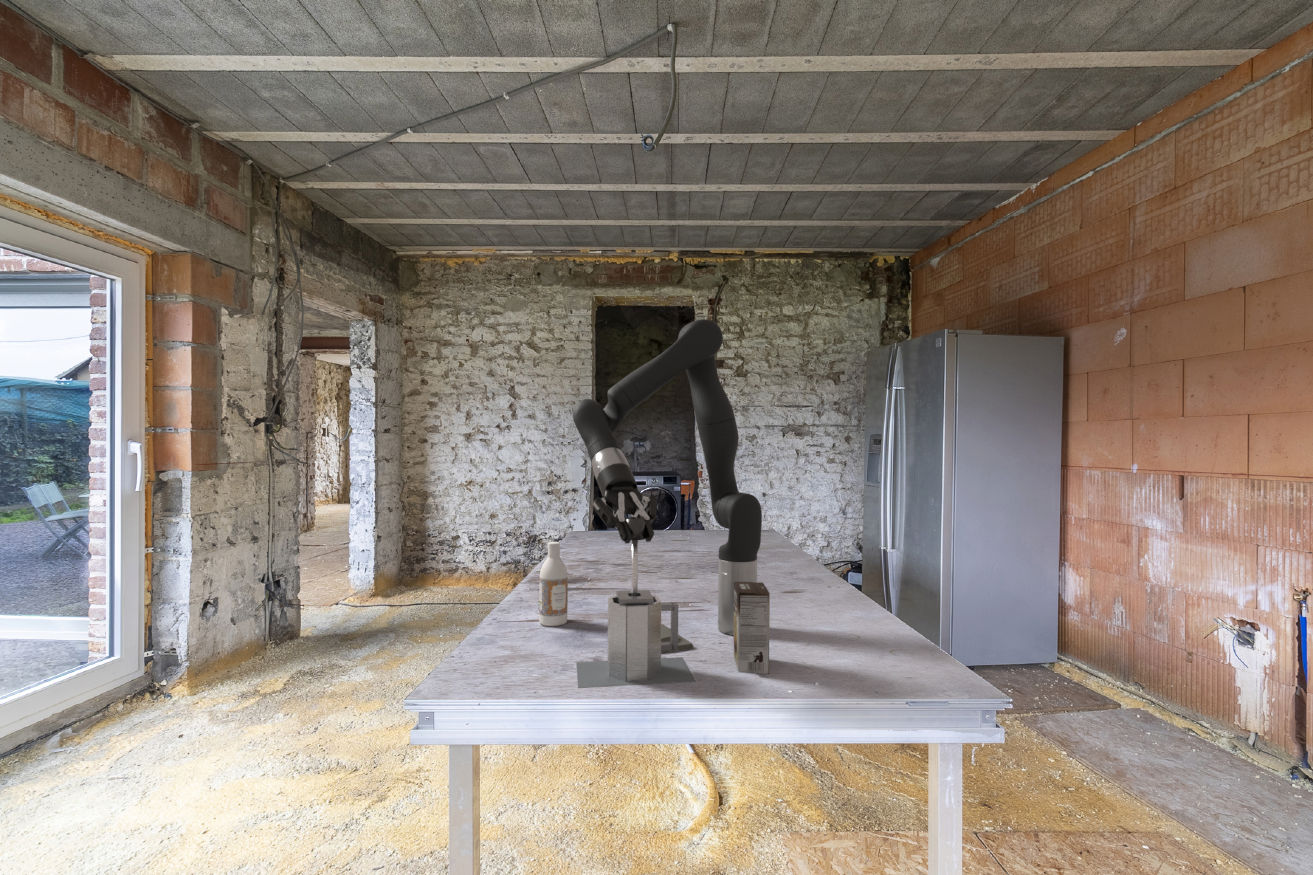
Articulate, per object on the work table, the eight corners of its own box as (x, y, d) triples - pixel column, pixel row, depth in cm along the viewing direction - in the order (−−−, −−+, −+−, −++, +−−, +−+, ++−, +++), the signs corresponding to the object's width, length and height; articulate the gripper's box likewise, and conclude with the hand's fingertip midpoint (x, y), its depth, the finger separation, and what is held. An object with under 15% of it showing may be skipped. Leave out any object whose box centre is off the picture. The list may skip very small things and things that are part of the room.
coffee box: (732, 657, 129) (733, 580, 129) (763, 658, 128) (763, 581, 129) (736, 673, 120) (737, 591, 120) (769, 674, 119) (770, 591, 119)
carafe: (672, 660, 126) (673, 587, 126) (682, 678, 116) (682, 599, 116) (606, 663, 123) (607, 589, 124) (610, 682, 114) (611, 602, 114)
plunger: (648, 621, 123) (649, 515, 123) (654, 632, 117) (654, 520, 117) (615, 623, 122) (616, 516, 122) (618, 633, 115) (619, 520, 116)
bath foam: (545, 628, 148) (546, 545, 148) (534, 621, 153) (535, 541, 154) (571, 624, 151) (572, 543, 152) (560, 617, 157) (560, 539, 157)
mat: (682, 659, 127) (682, 657, 127) (696, 683, 115) (696, 681, 115) (576, 664, 124) (576, 662, 124) (578, 689, 111) (578, 687, 111)
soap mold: (657, 627, 151) (657, 613, 151) (694, 652, 133) (694, 636, 133) (618, 632, 147) (618, 617, 147) (651, 659, 129) (651, 642, 129)
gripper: (637, 485, 134) (664, 548, 123) (577, 486, 127) (599, 554, 117) (649, 461, 130) (678, 525, 119) (587, 462, 123) (611, 530, 112)
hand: (639, 539), depth 118 cm, fingers closed on plunger, 4 cm apart
